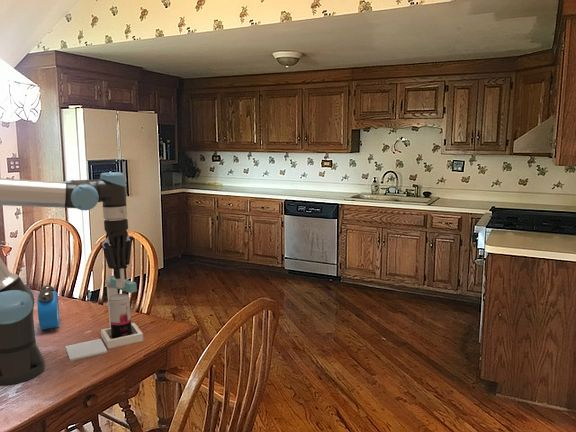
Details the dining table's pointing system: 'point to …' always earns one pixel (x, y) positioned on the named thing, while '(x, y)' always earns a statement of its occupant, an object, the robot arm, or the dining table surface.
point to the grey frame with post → (121, 340)
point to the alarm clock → (48, 308)
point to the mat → (85, 349)
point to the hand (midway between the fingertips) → (120, 287)
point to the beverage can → (120, 315)
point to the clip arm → (128, 287)
